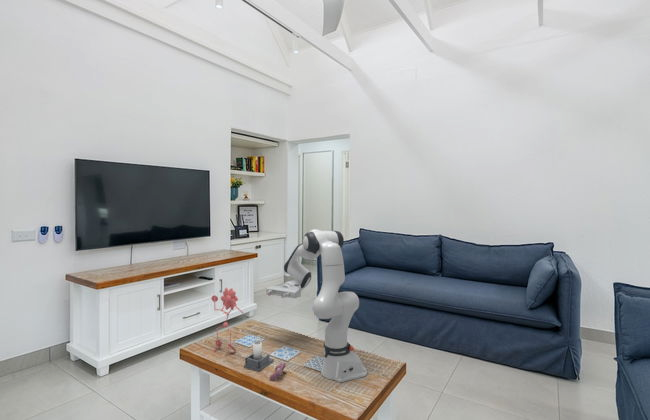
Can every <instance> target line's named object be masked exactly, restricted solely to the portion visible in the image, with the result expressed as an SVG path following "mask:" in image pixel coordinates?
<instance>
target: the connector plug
mask: <svg viewBox="0 0 650 420" xmlns="http://www.w3.org/2000/svg"><path fill="white" fill-rule="evenodd" d="M252 349H253V359H254V360H258V361H259V360H261V359H262V356H263V343H262V341H261V338H259V337H257V338H255V339H254V342H253V344H252Z"/></svg>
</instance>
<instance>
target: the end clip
mask: <svg viewBox="0 0 650 420" xmlns="http://www.w3.org/2000/svg"><path fill="white" fill-rule="evenodd" d="M270 356H271V355H270V354H266V355H265V356H264V355H262V359H261V360H259V361H258V360H254V359H253V353H251V354H249V355H248V356H246V357H245V362H244V363H245V364H243V368H245V369H247V370H248V369H249V370H252V371H255V372H258V373H260V372H261V371H263V370H264V369H265V368H266V367H268V366H269V365H271V364H273V362H274V360H275V359H274V358H271V357H270Z"/></svg>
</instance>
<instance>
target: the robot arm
mask: <svg viewBox="0 0 650 420" xmlns="http://www.w3.org/2000/svg"><path fill="white" fill-rule="evenodd" d="M344 243H345V240H344V235H343V234H342V233H341V231H338V230H320V229H317V228H314V229H311V230H309V232H306V233H305V234H304V235H303V238H302V243H299V244H298V245H297V246H296V247H295V248H294V250H293V251H292V252H291V255H290V256H289V258H288V259H287V261H286V262H285V263H284V265H283V272H284V273H286V274H287V275H289V276H290V277H291V280H288V281H285V282H283V284H282V285H281V286H278V285H271V286H267V287H266V291H265V292H266V293H265V294H266V295H267V296H276V297H277V296H279V297H281V298H283V299H284V298H291V299H297V298H300V297H302V296H301V295H302V291H303V290H304V289H306V287H307V286H308V285H309V284H310V282H311V280H312V272H311V271H310V270H309V269H307V268H306V267H305V266H304V265H302V264H301V262H299V260H298V259H299V258H300V257H301V258H303V259H305V260H307V261H308V260H311V261H312V260H315V259H317V258H318V257H319V256H320V257H321V273H322V275H321V276H322V278H321V279H322V281H321V283H322V284H321V288H320V291H319V293H318V295H317V296H316V298H315V299H314V301H313V302H312V305H311V307H312V308H311V310H312V312H313V315H314V316H315V317H316V318H317V319H320V320H328V319H330V321H329V322H328V323H327V324H325V325H326V326H325V328H324V343H323V351H322V352H323V362H322V366H321V367H322V368H321V370H320V374H321V375H322V376H323V377H324V378H326V379H329V380H333V381H335V382H338V383H344V382H347V381H351V380H356V379H360V378H363V377H364V378H365V377H366V376H367V375H368V371H367V368H366V366H365V365H364V364H363V363H362V360H361V358H360V357H359V355H358V354H357V353H355V352H354V349H355V347H354V346H353V345H351V344H350V343H349V342H348V333H349V332H348V330H349V325H350V322H351V320H352V317H353V315H354V313H355V312H356V311H357V310H358V309H359V307H360V299H359V296H358V295H357V294H356V293H355V292H353V291H340V292H339V290H340V287H341V285H342V284H343V283H344V282H345V281H346V275H345V262H344V257H343V252H342V248H343V246H344Z"/></svg>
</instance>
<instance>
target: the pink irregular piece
mask: <svg viewBox="0 0 650 420" xmlns="http://www.w3.org/2000/svg"><path fill="white" fill-rule="evenodd" d="M286 365H287V363H285V362H283V361H281V362H280V363H278V365H277V366H275V368H274V370H275V371H274V372H273V373H272V374H271V375H270V376H269V380H270V381H275V380H276V379H280V376H283V371H284V369H285V368H286Z"/></svg>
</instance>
